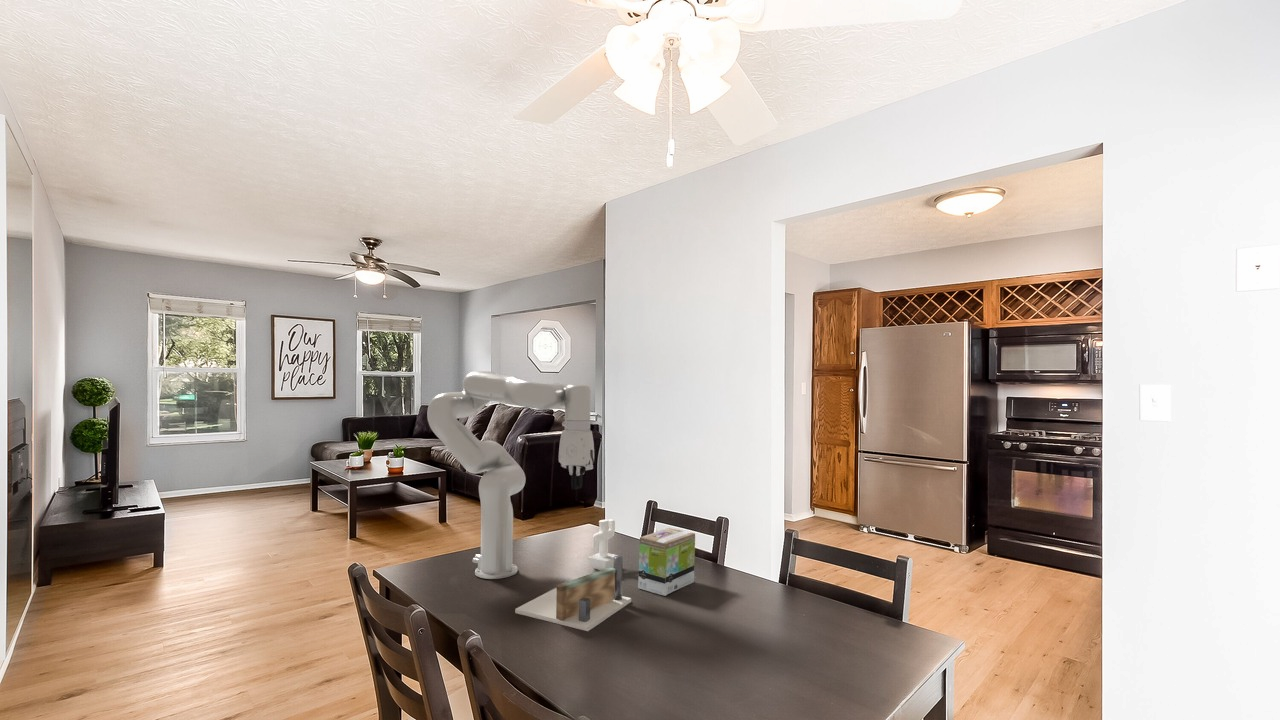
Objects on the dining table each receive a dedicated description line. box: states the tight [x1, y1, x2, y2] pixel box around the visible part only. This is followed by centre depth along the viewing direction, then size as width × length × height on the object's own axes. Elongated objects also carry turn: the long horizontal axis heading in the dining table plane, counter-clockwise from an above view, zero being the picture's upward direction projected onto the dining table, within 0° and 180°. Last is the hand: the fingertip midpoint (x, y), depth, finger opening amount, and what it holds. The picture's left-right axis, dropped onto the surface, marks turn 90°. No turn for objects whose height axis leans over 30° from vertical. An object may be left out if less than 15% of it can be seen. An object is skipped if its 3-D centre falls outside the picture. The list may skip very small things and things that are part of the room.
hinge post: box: [579, 555, 623, 622], centre depth 152 cm, size 2×18×12 cm, turn 152°
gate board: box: [514, 586, 632, 632], centre depth 155 cm, size 22×21×1 cm
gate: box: [556, 567, 615, 621], centre depth 150 cm, size 18×2×8 cm, turn 138°
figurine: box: [587, 519, 620, 571], centre depth 187 cm, size 7×9×15 cm
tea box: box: [637, 527, 696, 597], centre depth 172 cm, size 15×10×15 cm, turn 143°
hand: (576, 488), depth 175 cm, fingers closed
